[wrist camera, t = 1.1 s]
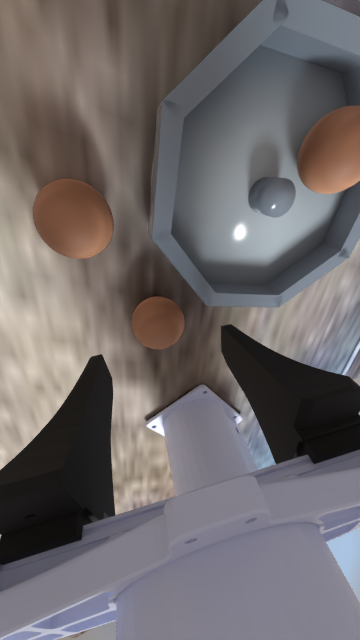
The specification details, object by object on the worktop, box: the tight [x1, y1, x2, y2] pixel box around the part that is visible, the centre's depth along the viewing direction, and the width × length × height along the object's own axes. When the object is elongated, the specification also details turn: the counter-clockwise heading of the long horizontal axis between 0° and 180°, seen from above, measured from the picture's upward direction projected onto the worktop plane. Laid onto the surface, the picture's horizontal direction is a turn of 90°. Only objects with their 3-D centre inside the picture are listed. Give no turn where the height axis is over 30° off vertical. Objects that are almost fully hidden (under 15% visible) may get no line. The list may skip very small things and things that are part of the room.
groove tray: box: [149, 0, 360, 307], centre depth 14 cm, size 14×14×3 cm
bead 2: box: [131, 296, 185, 349], centre depth 17 cm, size 4×4×4 cm
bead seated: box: [297, 105, 360, 194], centre depth 12 cm, size 4×4×4 cm
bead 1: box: [33, 179, 114, 259], centre depth 12 cm, size 4×4×4 cm
